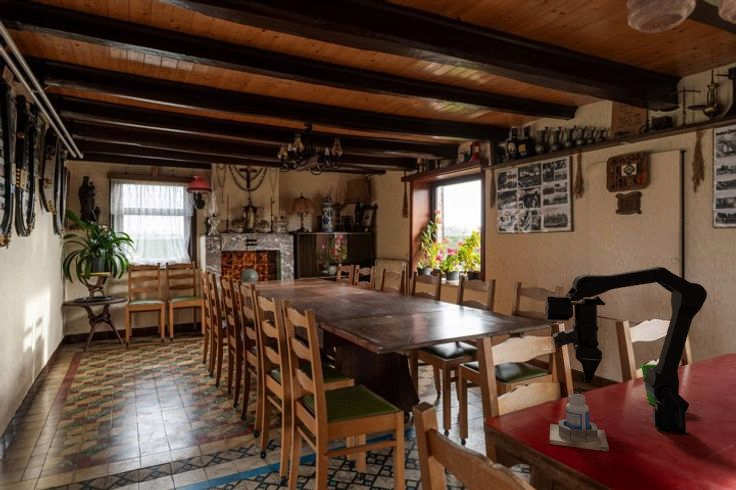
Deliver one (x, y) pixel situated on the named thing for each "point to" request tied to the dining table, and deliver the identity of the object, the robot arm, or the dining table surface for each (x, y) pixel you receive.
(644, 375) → the cup
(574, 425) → the pill bottle
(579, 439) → the collar
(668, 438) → the dining table surface
